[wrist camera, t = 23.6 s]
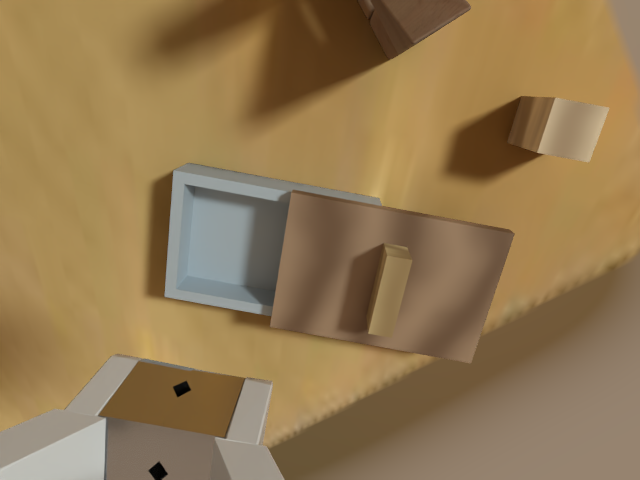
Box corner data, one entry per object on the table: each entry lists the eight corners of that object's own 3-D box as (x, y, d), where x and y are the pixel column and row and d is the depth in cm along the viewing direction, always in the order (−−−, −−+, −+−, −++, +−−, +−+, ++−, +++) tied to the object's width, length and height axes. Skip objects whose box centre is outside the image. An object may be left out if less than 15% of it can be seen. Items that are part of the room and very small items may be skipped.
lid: (271, 320, 42) (264, 344, 38) (292, 189, 38) (287, 201, 34) (467, 355, 42) (480, 383, 38) (509, 229, 38) (528, 246, 34)
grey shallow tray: (179, 279, 45) (164, 296, 42) (188, 162, 42) (173, 170, 38) (353, 311, 46) (354, 331, 42) (379, 198, 42) (382, 209, 38)
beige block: (506, 142, 40) (537, 152, 34) (521, 96, 38) (555, 97, 32) (551, 150, 40) (589, 162, 34) (566, 104, 39) (609, 107, 32)
